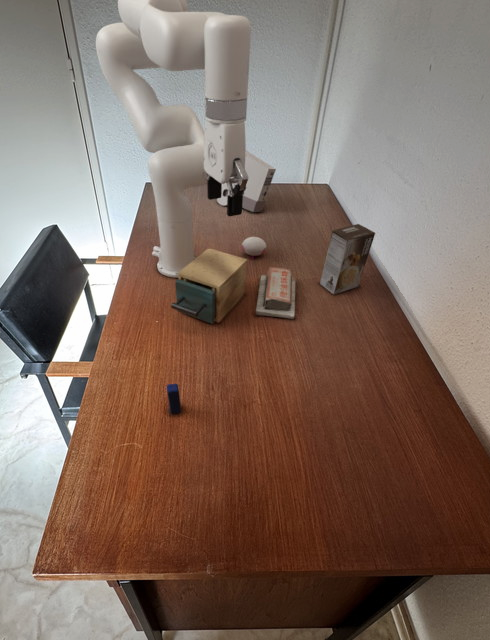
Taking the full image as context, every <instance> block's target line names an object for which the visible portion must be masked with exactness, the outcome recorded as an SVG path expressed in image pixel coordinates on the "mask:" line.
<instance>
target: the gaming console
mask: <svg viewBox="0 0 490 640" xmlns="http://www.w3.org/2000/svg"><path fill="white" fill-rule="evenodd" d="M276 170H277V168H275V167H274V166H272V165H270V164H269V163H268V162H265V161H264V160H263V159H260V158H259V157H257V156H256V155H255V154H253V153H251V152H250V151H248V150H246V152H245V171H246V173H247V175H248V181H247V184H246V190H245V191H244V195H243V203H242V209H245V210H247V211H249V212H251V213H259V212H263V209H264V206H265V203H266V198H267V195H268V193H269V190H270V187H271V184H272V181H273V179H274V176H275V173H276ZM231 178H234V177H230V179H231ZM236 184H237V183H233V184H232V186H233V189H234V187H235V186H236ZM228 195H229V191H228V187H227V183H225V184H222V196H221V198H218V199H216V201H217V203H218V204H219V205H220V206H223V207H224V206H227V196H228Z"/></svg>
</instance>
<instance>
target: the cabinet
mask: <svg viewBox="0 0 490 640" xmlns="http://www.w3.org/2000/svg"><path fill="white" fill-rule="evenodd" d="M195 258H196V259H195V260H193V261H192V262H191V263H190V264H189V265H187V266H186V267H185V268H184V269H182V270H181V271H180V272H179V273H178V278H177V279H179V280H182V281H184V279H183V278H186V279H189V280H192V281H195V282H198V283H201V284H204V285H207V286H211V287H214V288H217V297H216V316H215V322H216V323H218V324H219V323H220V322H221V321H222V320H224V318H225V317H226V316H227V315H228V314H229V312H230V311H231V310H232V309H233V308H234V307H235V306H236V305H237V303H238V302H240V301H241V299H242V298H243V297H244V296H245V294H246V284H247V283H246V281H247V270H248V269H247V268H248V258H244V257H240V256H238V255H235V254H230V253H226V252H223V251H220V250H217V249H213V248H207V249H206V250H204V251H203V252H202V253H201V254H200V255H198V256H197V257H195Z"/></svg>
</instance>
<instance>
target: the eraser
mask: <svg viewBox="0 0 490 640" xmlns="http://www.w3.org/2000/svg"><path fill="white" fill-rule="evenodd" d="M166 392H167V400H168V407H169V412H170V414H171V415H175V414H177V415H178V414H180V413H181V411H182V408H181V397H180V390H179V384H178V383H170V384H169V383H168V384H167V385H166Z"/></svg>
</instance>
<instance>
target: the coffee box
mask: <svg viewBox="0 0 490 640" xmlns="http://www.w3.org/2000/svg"><path fill="white" fill-rule="evenodd" d="M375 235H376V232H374V231H373V230H371V229H370V228H368V227H366V226H364V225H361V224H360V223H357V224H352V225H348V226H345V227H340V228H337V229H333V230H331V235H330V240H329V243H328V248H327V253H326V256H325V261H324V265H323V266H324V267H323V270H322V273H321V278H320V283H319V284H320V285H321V286H322V287H323V288H325V289H326V290H327V291H328V292H330V293H331V294H332V295H337V294H340V293H343V292H347V291H349V290H352V289H355V288H358V287H359V286H360V283H361V279H362V276H363V273H364V270H365V268H366V267H365V266H366V264H367V261H368V257H369V255H370V252H371V248H372V245H373V241H374V239H375Z"/></svg>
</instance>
